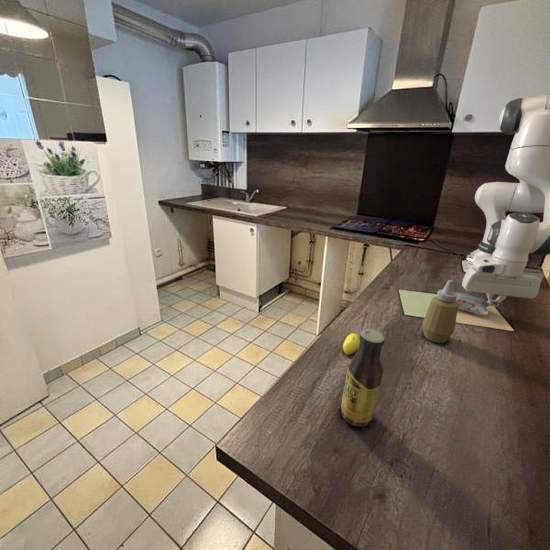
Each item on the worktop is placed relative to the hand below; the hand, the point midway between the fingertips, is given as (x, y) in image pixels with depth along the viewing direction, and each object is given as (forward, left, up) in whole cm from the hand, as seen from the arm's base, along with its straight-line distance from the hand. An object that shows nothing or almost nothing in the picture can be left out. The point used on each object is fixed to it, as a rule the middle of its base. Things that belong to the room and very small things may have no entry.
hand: (492, 305), depth 96 cm
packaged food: (0, -7, -3) cm, 8 cm away
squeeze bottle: (+21, -21, -3) cm, 30 cm away
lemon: (+34, -44, -3) cm, 55 cm away
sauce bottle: (+56, -42, -3) cm, 70 cm away
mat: (0, -12, -3) cm, 12 cm away
